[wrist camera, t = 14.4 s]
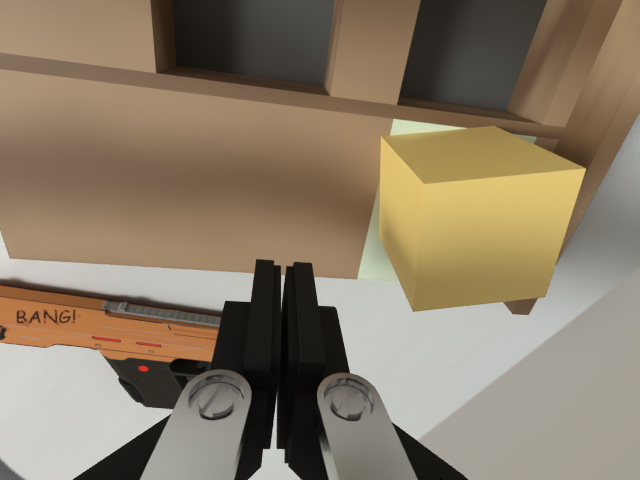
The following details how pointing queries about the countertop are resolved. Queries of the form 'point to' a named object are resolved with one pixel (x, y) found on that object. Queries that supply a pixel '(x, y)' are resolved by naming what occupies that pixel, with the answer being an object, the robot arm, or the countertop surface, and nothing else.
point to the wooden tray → (281, 118)
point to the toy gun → (116, 338)
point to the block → (473, 215)
